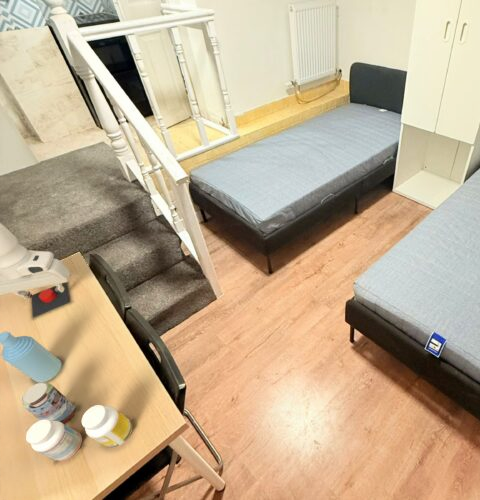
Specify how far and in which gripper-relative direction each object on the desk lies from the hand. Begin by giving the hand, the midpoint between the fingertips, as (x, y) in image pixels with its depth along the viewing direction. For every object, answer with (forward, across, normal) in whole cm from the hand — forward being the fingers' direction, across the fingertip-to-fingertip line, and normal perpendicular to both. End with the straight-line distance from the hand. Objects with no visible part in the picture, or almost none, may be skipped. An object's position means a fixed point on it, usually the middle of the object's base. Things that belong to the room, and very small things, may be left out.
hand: (45, 294), depth 107 cm
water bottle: (+3, +7, -27) cm, 28 cm away
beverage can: (+3, +15, -41) cm, 44 cm away
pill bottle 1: (+3, +18, -49) cm, 52 cm away
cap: (0, 0, 0) cm, 0 cm away
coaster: (+3, 0, 0) cm, 3 cm away
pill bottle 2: (+3, +29, -49) cm, 57 cm away
